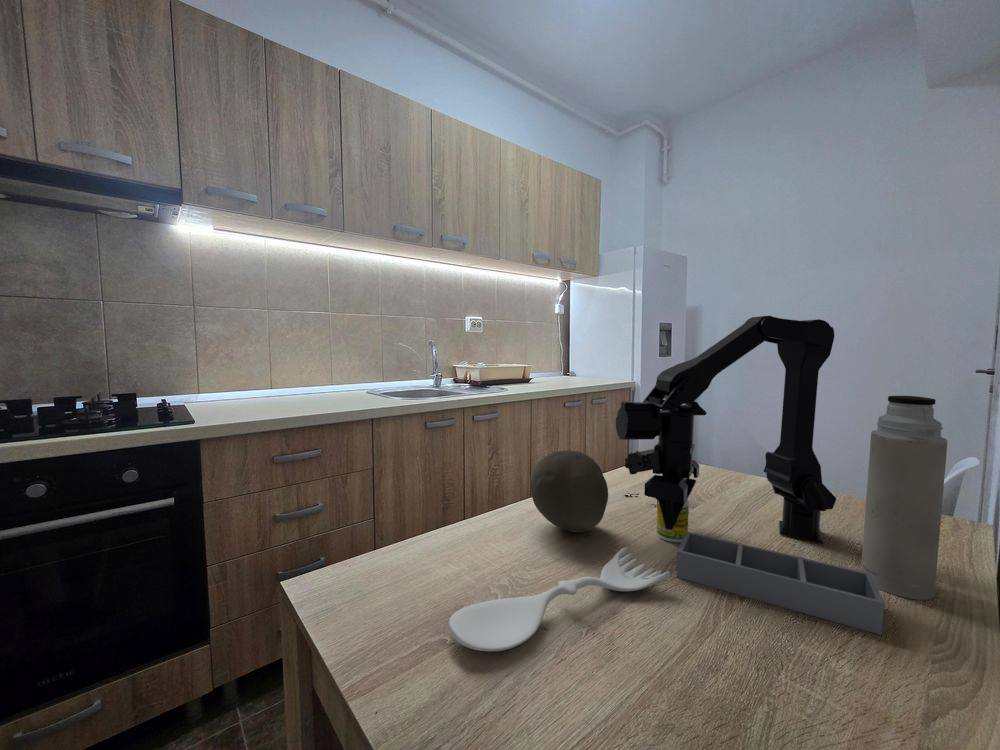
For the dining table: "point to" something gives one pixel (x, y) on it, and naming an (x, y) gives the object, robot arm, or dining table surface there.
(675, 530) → the supplement bottle
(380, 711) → the dining table surface
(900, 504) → the thermos bottle
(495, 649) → the spoon
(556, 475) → the brown coconut
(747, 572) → the slot holder
